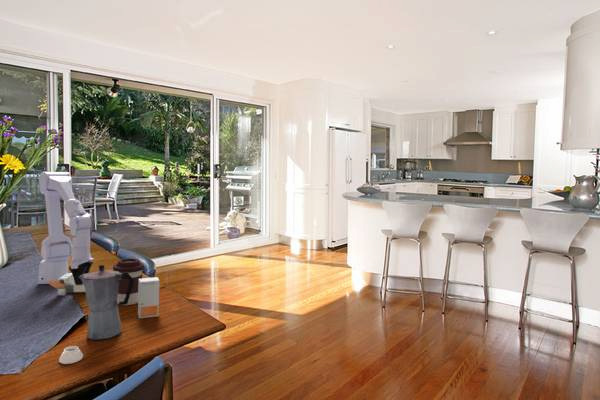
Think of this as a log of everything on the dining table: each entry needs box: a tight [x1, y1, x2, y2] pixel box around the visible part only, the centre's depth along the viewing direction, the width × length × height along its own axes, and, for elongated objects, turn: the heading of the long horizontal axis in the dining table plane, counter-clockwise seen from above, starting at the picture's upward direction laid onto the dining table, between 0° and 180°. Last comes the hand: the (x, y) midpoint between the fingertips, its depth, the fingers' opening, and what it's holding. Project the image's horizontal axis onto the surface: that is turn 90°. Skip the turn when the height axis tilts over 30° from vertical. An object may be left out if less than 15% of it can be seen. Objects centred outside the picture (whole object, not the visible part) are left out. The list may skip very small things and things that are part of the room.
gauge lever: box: [48, 281, 66, 290], centre depth 135 cm, size 3×8×1 cm, turn 11°
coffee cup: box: [112, 257, 145, 306], centre depth 135 cm, size 10×10×15 cm
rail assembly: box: [57, 272, 86, 295], centre depth 144 cm, size 18×8×6 cm, turn 101°
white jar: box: [58, 345, 84, 365], centre depth 95 cm, size 5×3×5 cm
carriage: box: [74, 281, 86, 292], centre depth 144 cm, size 4×4×6 cm
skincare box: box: [137, 276, 160, 319], centre depth 124 cm, size 6×4×12 cm
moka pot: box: [79, 264, 134, 341], centre depth 109 cm, size 10×15×20 cm, turn 95°
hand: (81, 282), depth 144 cm, fingers open, 4 cm apart
